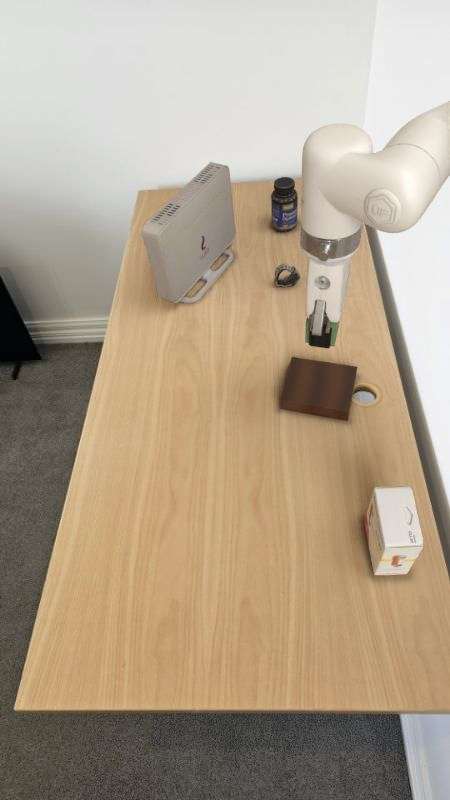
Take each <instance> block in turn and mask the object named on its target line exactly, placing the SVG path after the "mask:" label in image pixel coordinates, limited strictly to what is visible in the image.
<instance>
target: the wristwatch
mask: <svg viewBox="0 0 450 800" xmlns="http://www.w3.org/2000/svg"><path fill="white" fill-rule="evenodd" d="M284 271H288V272H289V273H290V274H289V275H288V277H285V278H284V279H279V278H280V275H281V274H282V273H283V272H284ZM300 279H301V276H300V271H299V270H298V269H297V267H296V266H295V265H293V266H291V265H289V264H286V263H281V264H279V266H277V267H276V269H275V270H274V278H273V282H274V284H275V285H276V286H277V287H283V288H287V287H292V286H295V285H296V284H297V283H298V282H299V281H300Z"/></svg>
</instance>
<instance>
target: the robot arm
mask: <svg viewBox="0 0 450 800" xmlns="http://www.w3.org/2000/svg"><path fill="white" fill-rule="evenodd" d="M449 177H450V100H448V101H446V102H444V103H442V104H439V105H437V106H435V107H433V108H431V109H429V110H427V111H425V112H423V113H421V114H419V115H417V116H415V117H413V118H412V119H411V120H409V121H407V122H406V123H405V124H403V126H402V127H400V128H399V129H398V130H397V132H396V133H395V134H394V135H393V136H392V137H391V139H389V141H388V142H387V143H386V145H385V146H384V147H383V148H382V149H381V150H379V151H377V152H374V148H373V141H372V138H371V137H370V134H368V132H367V131H366V130H364V129H363V128H361V127H360V126H357V125H355V124H354V125H353V124H349V123H332V124H327V125H323V126H320V127H318V128H316V129H315V130H314V131H312V132H311V133H310V134H309V135H308V136H307V138H306V139H305V141H304V144H303V147H302V154H301V187H300V189H301V192H300V194H301V195H300V238H299V247H300V249H301V251H302V252H303V254H304V255H305V256H307V263H306V265H307V266H306V268H307V269H306V282H305V299H304V300H305V302H304V303H305V304H304V305H305V307H304V309H305V311H304V312H305V316H306V319H307V318H308V319H310V318H311V325H310V330H309V343H308V346H310V347H315V348H322V349H330V348H331V346H330V344H331V334H332V328H330V325H331V322H335V323H337V322H338V321H339V320H340V321H341V319H342V316H343V312H344V309H345V308H344V307H345V303H346V299H347V294H348V289H349V284H350V276H351V264H352V257H353V256H354V255H355V254H356V253H357V252H358V251H359V249H360V246H361V238H362V231H363V226H364V225H363V224H365V225H367V226H369V227H370V228H372V229H375V230H377V231H379V232H383V233H387V234H399V233H403V232H405V231H407V230H410V229H411V228H413V227H414V226H415V225H416V224H417V223H418V222H419V221H420V220H421V219H422V217H423V216H424V215H425V213H426V211H427V210H428V208H429V207H430V205H431V204H432V202H433V201H434V199H435V198H436V196H437V194H438V193H439V192H440V190H441V189H442V187H443V185H444V184H445V183H446V181H447V180H448V178H449ZM325 310H326V311H325ZM324 319H327V323H326V325H325V324H323V320H324ZM340 321H339V322H340Z"/></svg>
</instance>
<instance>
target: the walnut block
mask: <svg viewBox="0 0 450 800" xmlns="http://www.w3.org/2000/svg"><path fill="white" fill-rule="evenodd" d="M357 373H358V366H355V365H349V364H343V363H336V362H329V361H323V360H317V359H316V360H315V359H310V358H305V357H304V358H302V357H297V356H291V358H290V362H289V365H288V368H287V372H286V376H285V379H284V382H283V386H282V389H281V393H280V397H279V409H280V410H283V411H289V412H295V413H301V414H308V415H312V416H316V417H317V416H318V417H322V418H329V419H335V420H341V421H346V422H348V421H349V418H350V417H349V416H350V411H351V406H352V400H353V395H354V390H355V383H356V379H357V378H356V377H357Z"/></svg>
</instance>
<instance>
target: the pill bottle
mask: <svg viewBox="0 0 450 800" xmlns="http://www.w3.org/2000/svg"><path fill="white" fill-rule="evenodd" d="M295 187H296V182H295V180H294V179H293V178H292V177H289V176H281V177H278V178H276V179H275V180H274V182H273V191H272V192H271V195H270V203H271V204H270V207H271V226H272V228H273V229H274V230H275V231H278V232H280V233H286V232H290V231H293V230H294V229H295V228H296V227H297V225H298V200H299V199H298V197H299V194H298V191H297V189H295Z"/></svg>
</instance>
